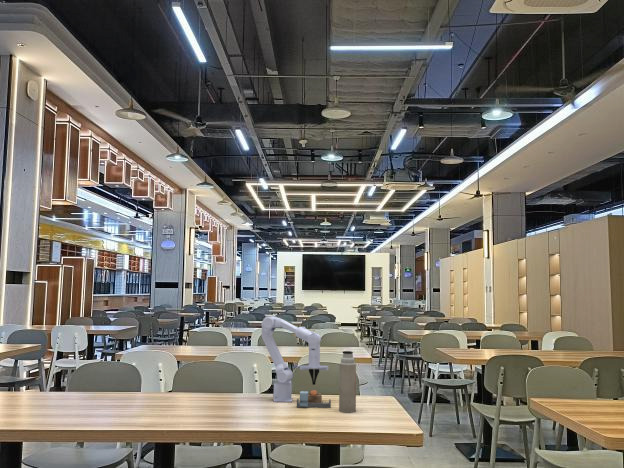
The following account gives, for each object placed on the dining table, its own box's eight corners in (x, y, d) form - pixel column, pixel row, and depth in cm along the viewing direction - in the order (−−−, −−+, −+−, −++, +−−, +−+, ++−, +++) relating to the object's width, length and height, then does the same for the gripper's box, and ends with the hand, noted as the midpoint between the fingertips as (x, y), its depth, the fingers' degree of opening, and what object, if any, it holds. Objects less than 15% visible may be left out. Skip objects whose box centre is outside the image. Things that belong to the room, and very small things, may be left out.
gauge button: (310, 398, 285) (310, 391, 286) (310, 397, 288) (310, 390, 289) (316, 398, 285) (316, 391, 286) (316, 397, 288) (316, 390, 289)
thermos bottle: (356, 409, 271) (357, 350, 273) (354, 413, 263) (355, 352, 266) (340, 408, 272) (340, 350, 275) (337, 412, 264) (338, 351, 267)
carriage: (299, 406, 273) (299, 393, 274) (299, 404, 278) (300, 391, 279) (307, 406, 273) (308, 393, 274) (307, 404, 278) (308, 391, 279)
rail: (296, 407, 274) (296, 399, 274) (296, 406, 277) (296, 398, 277) (330, 407, 274) (330, 400, 274) (330, 406, 277) (330, 399, 277)
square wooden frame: (305, 404, 282) (305, 395, 283) (305, 400, 290) (305, 393, 291) (321, 404, 282) (321, 396, 283) (321, 401, 290) (321, 393, 291)
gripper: (300, 358, 285) (299, 385, 283) (328, 358, 285) (328, 385, 283) (300, 356, 292) (299, 383, 290) (328, 356, 292) (327, 383, 290)
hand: (313, 384), depth 287 cm, fingers closed
